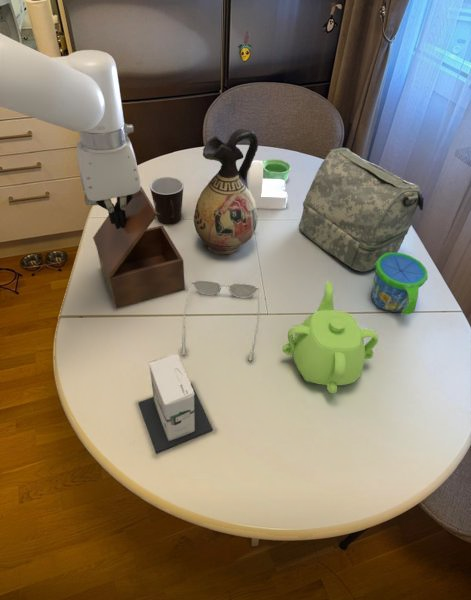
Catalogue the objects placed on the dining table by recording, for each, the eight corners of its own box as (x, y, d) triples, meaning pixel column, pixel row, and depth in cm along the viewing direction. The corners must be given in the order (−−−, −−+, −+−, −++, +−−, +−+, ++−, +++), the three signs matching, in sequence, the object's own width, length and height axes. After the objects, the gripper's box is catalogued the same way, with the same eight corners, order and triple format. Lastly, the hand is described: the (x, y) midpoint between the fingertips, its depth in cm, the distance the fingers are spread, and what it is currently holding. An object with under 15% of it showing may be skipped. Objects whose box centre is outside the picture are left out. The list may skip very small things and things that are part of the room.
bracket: (282, 190, 128) (287, 155, 119) (286, 209, 120) (292, 172, 112) (220, 188, 127) (221, 152, 118) (220, 207, 119) (221, 170, 111)
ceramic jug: (207, 270, 100) (208, 150, 79) (186, 233, 110) (181, 118, 88) (270, 254, 106) (287, 138, 84) (244, 221, 115) (253, 109, 94)
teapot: (267, 351, 84) (274, 308, 75) (317, 321, 90) (329, 278, 81) (325, 410, 75) (340, 369, 66) (375, 372, 81) (396, 330, 72)
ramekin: (258, 171, 135) (259, 158, 132) (285, 171, 136) (287, 158, 133) (262, 186, 129) (264, 173, 126) (291, 185, 130) (293, 172, 127)
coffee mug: (158, 207, 118) (155, 175, 110) (188, 211, 117) (186, 179, 110) (146, 231, 109) (142, 198, 102) (178, 235, 109) (176, 202, 102)
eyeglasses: (258, 297, 94) (260, 284, 91) (255, 362, 82) (257, 349, 79) (190, 291, 94) (190, 278, 92) (177, 355, 82) (176, 342, 79)
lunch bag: (409, 259, 107) (444, 182, 92) (359, 283, 100) (388, 204, 84) (339, 209, 122) (359, 135, 106) (291, 227, 114) (304, 151, 99)
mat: (156, 453, 68) (155, 452, 67) (138, 404, 74) (138, 402, 73) (212, 430, 71) (212, 428, 71) (191, 384, 77) (191, 382, 77)
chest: (165, 254, 103) (162, 225, 97) (184, 289, 95) (183, 260, 89) (101, 270, 98) (94, 240, 92) (116, 309, 90) (109, 278, 83)
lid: (137, 179, 87) (134, 177, 86) (158, 214, 78) (154, 212, 78) (95, 239, 92) (92, 237, 91) (111, 277, 83) (107, 276, 83)
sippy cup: (421, 327, 91) (440, 294, 83) (373, 326, 90) (388, 293, 83) (399, 278, 101) (414, 245, 94) (357, 277, 101) (368, 244, 94)
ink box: (152, 400, 74) (146, 360, 66) (179, 390, 76) (176, 350, 67) (168, 442, 69) (163, 405, 60) (196, 431, 70) (195, 393, 62)
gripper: (139, 120, 76) (149, 207, 89) (53, 132, 71) (77, 222, 84) (152, 138, 71) (160, 227, 84) (61, 151, 66) (84, 244, 79)
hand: (118, 224), depth 84 cm, fingers closed
